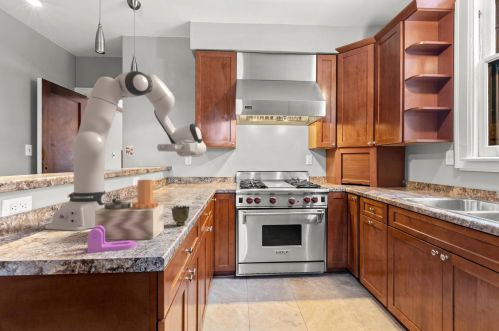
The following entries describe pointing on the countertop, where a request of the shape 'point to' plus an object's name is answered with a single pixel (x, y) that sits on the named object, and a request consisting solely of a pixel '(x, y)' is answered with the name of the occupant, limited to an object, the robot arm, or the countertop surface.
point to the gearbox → (129, 221)
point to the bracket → (99, 245)
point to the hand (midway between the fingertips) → (165, 146)
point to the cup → (180, 214)
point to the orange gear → (145, 195)
